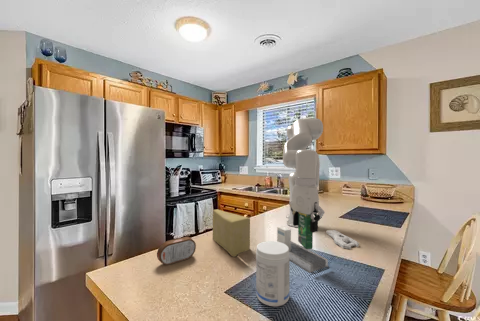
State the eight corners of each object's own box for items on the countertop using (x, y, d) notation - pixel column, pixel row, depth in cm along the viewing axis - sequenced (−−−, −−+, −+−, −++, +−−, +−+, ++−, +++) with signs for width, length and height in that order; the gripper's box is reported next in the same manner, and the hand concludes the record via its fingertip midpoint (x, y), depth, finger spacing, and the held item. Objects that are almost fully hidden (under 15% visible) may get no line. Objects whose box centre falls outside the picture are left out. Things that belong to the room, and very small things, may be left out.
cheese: (204, 241, 105) (205, 210, 104) (221, 236, 111) (221, 207, 110) (232, 258, 87) (232, 221, 87) (250, 251, 93) (251, 216, 93)
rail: (309, 275, 75) (309, 265, 75) (270, 251, 94) (270, 243, 94) (328, 268, 80) (328, 259, 80) (287, 246, 99) (288, 238, 99)
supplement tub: (276, 284, 70) (277, 238, 69) (296, 302, 61) (297, 250, 61) (249, 292, 65) (250, 243, 65) (267, 312, 57) (267, 256, 57)
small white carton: (277, 247, 95) (277, 227, 95) (282, 246, 97) (283, 226, 97) (284, 252, 91) (284, 230, 91) (290, 250, 92) (290, 229, 92)
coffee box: (297, 241, 87) (297, 208, 87) (304, 240, 87) (304, 208, 87) (305, 249, 79) (305, 213, 79) (312, 249, 79) (313, 213, 79)
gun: (320, 229, 113) (336, 227, 116) (320, 235, 113) (336, 234, 116) (346, 244, 95) (364, 242, 98) (345, 252, 96) (364, 250, 98)
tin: (193, 254, 91) (193, 234, 90) (197, 257, 88) (197, 236, 88) (156, 265, 81) (156, 243, 81) (159, 268, 79) (159, 245, 79)
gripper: (282, 180, 88) (282, 223, 89) (316, 185, 73) (316, 237, 74) (296, 179, 92) (296, 220, 92) (331, 184, 77) (331, 233, 77)
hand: (305, 228), depth 83 cm, fingers closed on coffee box, 8 cm apart
